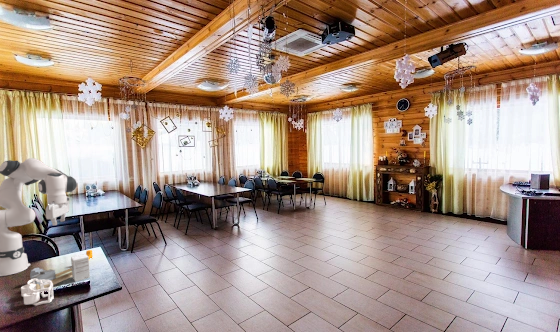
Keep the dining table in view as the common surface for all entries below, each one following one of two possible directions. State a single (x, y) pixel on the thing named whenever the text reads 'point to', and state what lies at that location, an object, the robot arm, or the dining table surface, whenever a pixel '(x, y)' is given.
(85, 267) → the supplement box
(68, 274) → the wooden rectangular frame
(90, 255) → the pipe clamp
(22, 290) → the car outline toy
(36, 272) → the stepped grey block
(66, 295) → the dining table surface
